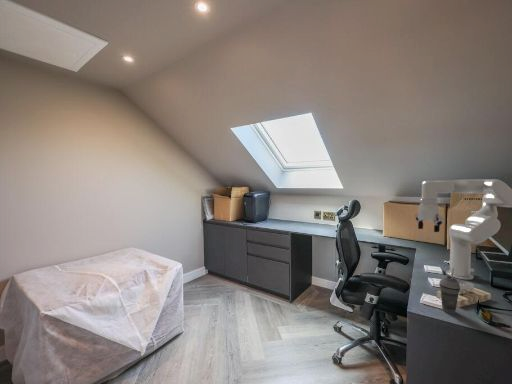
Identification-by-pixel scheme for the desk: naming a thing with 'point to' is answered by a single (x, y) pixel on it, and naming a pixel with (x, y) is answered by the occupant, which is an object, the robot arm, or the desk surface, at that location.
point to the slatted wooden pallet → (470, 297)
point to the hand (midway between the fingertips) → (428, 230)
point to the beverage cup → (449, 293)
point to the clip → (466, 288)
